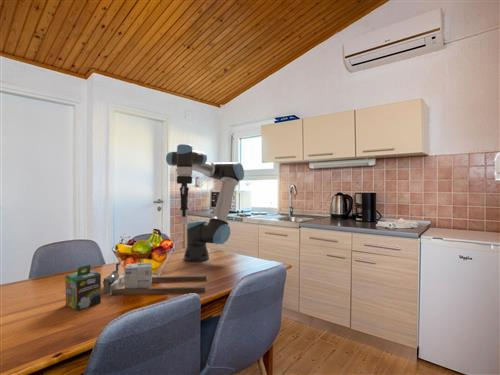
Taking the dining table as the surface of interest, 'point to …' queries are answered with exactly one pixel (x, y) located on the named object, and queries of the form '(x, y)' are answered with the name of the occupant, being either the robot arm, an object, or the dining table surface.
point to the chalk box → (83, 288)
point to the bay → (121, 281)
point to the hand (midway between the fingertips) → (184, 222)
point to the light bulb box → (138, 275)
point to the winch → (111, 279)
